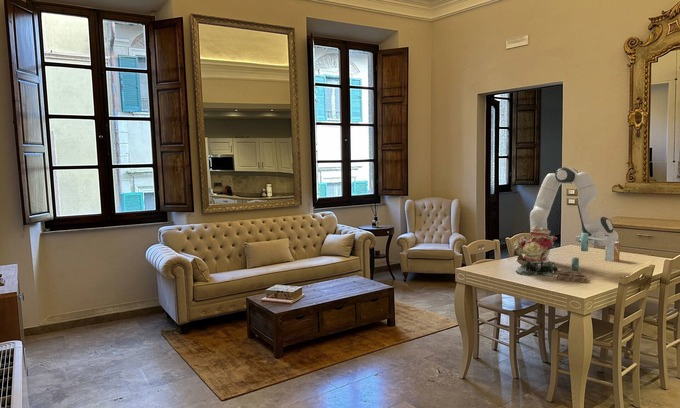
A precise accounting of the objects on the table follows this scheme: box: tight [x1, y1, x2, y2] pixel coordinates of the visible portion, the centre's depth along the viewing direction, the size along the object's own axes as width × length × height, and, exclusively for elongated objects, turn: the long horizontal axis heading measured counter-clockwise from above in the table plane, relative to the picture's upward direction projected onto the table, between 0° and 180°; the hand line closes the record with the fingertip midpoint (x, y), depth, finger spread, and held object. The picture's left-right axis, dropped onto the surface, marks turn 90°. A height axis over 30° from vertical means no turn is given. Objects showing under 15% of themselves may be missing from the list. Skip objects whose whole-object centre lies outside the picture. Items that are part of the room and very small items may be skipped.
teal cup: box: [558, 257, 582, 274], centre depth 298 cm, size 12×7×10 cm, turn 61°
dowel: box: [580, 232, 589, 252], centre depth 296 cm, size 4×4×11 cm
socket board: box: [556, 271, 588, 284], centre depth 286 cm, size 16×10×2 cm, turn 61°
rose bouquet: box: [510, 226, 559, 277], centre depth 305 cm, size 26×29×30 cm
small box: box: [604, 241, 621, 262], centre depth 336 cm, size 8×6×13 cm
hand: (583, 241), depth 295 cm, fingers closed on dowel, 4 cm apart
